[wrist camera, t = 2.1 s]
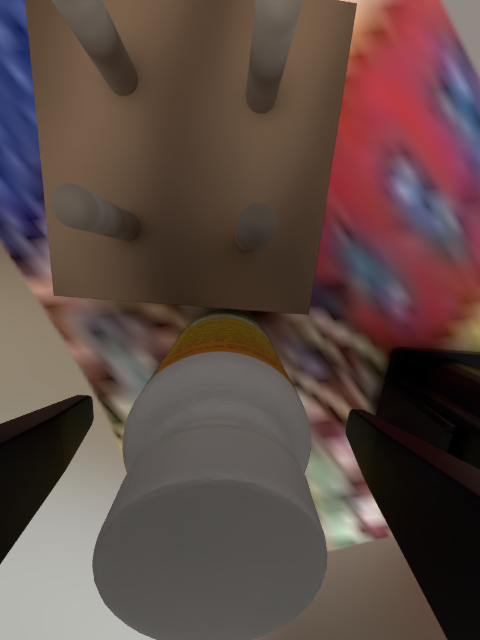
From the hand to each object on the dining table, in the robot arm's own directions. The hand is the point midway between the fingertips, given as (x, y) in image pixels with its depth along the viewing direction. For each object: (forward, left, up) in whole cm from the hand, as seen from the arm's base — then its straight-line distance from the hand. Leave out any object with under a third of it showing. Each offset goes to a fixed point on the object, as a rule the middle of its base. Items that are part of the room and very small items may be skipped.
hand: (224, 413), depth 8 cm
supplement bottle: (0, 0, -6) cm, 6 cm away
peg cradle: (+2, -9, -5) cm, 11 cm away
